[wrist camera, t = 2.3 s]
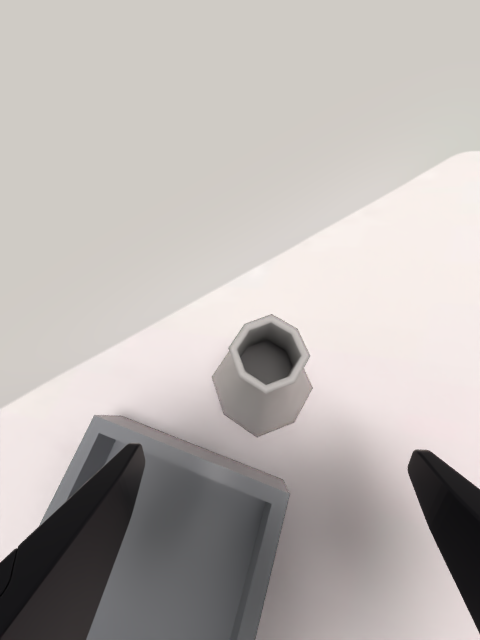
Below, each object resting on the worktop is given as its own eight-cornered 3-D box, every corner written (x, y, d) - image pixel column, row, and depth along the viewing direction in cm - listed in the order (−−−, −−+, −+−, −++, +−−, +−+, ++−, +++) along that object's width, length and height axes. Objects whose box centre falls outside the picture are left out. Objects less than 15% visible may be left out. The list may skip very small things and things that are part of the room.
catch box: (217, 740, 14) (206, 841, 10) (21, 627, 16) (-40, 682, 12) (283, 479, 18) (289, 493, 14) (120, 415, 20) (94, 415, 16)
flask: (329, 390, 20) (397, 364, 10) (255, 456, 18) (257, 495, 9) (266, 320, 22) (276, 248, 13) (196, 375, 21) (149, 339, 11)
